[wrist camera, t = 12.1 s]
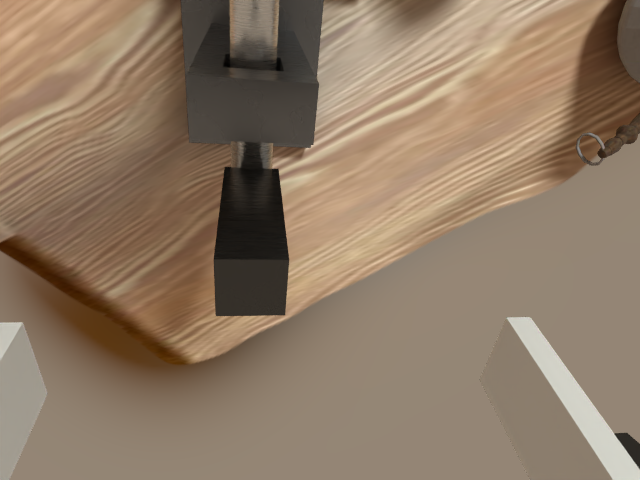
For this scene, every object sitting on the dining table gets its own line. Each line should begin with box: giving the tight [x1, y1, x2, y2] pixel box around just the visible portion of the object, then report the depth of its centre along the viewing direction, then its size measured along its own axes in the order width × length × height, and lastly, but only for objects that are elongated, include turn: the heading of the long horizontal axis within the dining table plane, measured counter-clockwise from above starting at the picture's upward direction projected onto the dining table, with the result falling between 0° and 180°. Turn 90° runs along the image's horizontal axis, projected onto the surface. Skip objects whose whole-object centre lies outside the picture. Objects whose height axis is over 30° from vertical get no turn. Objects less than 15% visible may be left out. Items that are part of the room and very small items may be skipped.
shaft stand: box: [181, 0, 324, 148], centre depth 28 cm, size 18×10×17 cm, turn 175°
